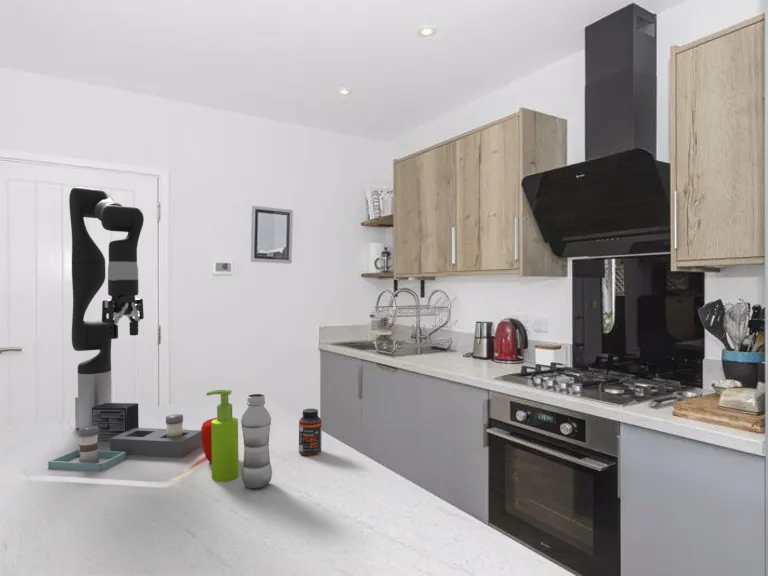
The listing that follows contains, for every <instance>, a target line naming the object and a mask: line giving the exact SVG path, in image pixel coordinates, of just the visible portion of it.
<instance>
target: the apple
mask: <svg viewBox="0 0 768 576" xmlns="http://www.w3.org/2000/svg"><path fill="white" fill-rule="evenodd" d="M214 419H217V417H214V418H211V419H207V420H205V421H204V422H202V426H201V428H200V430H201V442H202V446H201V447H202V449H203V452H204V456H205V458H206V460H207V461H208V463H209V462H210V463H211V464H212V430H211V422H212V420H214Z"/></svg>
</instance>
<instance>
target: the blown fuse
mask: <svg viewBox="0 0 768 576" xmlns="http://www.w3.org/2000/svg"><path fill="white" fill-rule="evenodd" d="M97 434H98V426H85V427H81V428H78V437H79V449H80V456H79V459H78V462H82V463H99V461H100V460H99V459H100V457H99V456H98V450H99V441H98V435H97Z"/></svg>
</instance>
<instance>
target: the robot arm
mask: <svg viewBox="0 0 768 576" xmlns="http://www.w3.org/2000/svg"><path fill="white" fill-rule="evenodd" d="M68 201H69V202H68V203H69V205H68V206H69V215H70V216H69V220H70V228H71V281H72V282H71V284H72V318H71V319H72V320H71V345H72V348H73V350H74V351H76V352H81V351H82V352H87V351H88V352H89V351H99V352H98V353H97V354H96V355H95V356H93V357H91V358H90V359H87V360H84V361H81V362H80V363H78V365H77V396H76V397H75V399H74V410H75V411H74V415H75V417H74V418H75V419H74V420H75V421H74V422H75V423H74V426H75V429H76V428H77V429H79V428H81V427H85V426H92V407H94V406H98V405H101V404H104V403H113V402H112V398H113V396H112V340H116V339H117V340H118V338H119V325H118V323H119V322H120V319H122V318H123V317H124V316H125V317H127V319H128V321H129V335H130V336H139V323H140V322H141V320H143V319H144V317H145V316H144V315H145V313H144V300H143V298H136V296H138V295H139V267H138V243H139V239H140V235H141V233H142V229H143V226H144V221H145V218H144V213H143V212H142V210H141V209H139V208H138V207H134V206H133V207H132V206H124V205H122V204H120V203H119V202H117V201H115V200H114V199H113V198H112V197H111V195H110V193H108V192H106V191H105V190H102V189H97V188H89V187H88V188H87V187H78V186H76V187H75V186H74V187H73V188H71V190H70V193H69V198H68ZM85 218H87V219H89V218H91V219H98V220H99V221H100V222H101V226H102V228H104V230H106V231H109V232H119V233H120V232H121V233H122V232H123V233H127V235H126V237H125V238H122V239H116V240H112V241H110V242H109V243H108V265H107V294H108V296H110V297H111V299H107V300H105V299H103V300H102V302H101V303H102V304H101V305H102V307H101V320H87V321H86V320H84V319H85V315H86V312H87V309H88V307H89V306H90V304H91V302H92V301H93V299H94V297H95V296H96V295H97V293H98V292H99V291H100V290H101V288H102V286H103V284H104V283H105V281H106V259H105V255H104V254H103V252H102V251H101V249H100V248H99V247H98V245H97V244H96V242H95V241H94V240H93V238H92V237H91V235H90V233H89V232H88V229H87V226H86V224H85ZM107 315H108V318H107Z"/></svg>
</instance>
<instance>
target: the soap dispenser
mask: <svg viewBox="0 0 768 576" xmlns="http://www.w3.org/2000/svg"><path fill="white" fill-rule="evenodd" d="M231 394H232V390H231V389H230V390H229V389H215V390H211V391H208V392H207V393H206V394H205V395H206V396H212V395H220V403H219V404H218V405H217V406H216V418H217V419H214V420H212V422H211V430H212V463H211V479H212V480H213V481H215V482H218V483H219V482H222V483H224V482H229V481H230V482H231V481H233V480H235V479H237V478H238V477H239V473H240V472H239V419H238V418H237V417H234V416H233V404H232V403H230V402H229V396H230V395H231Z"/></svg>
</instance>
